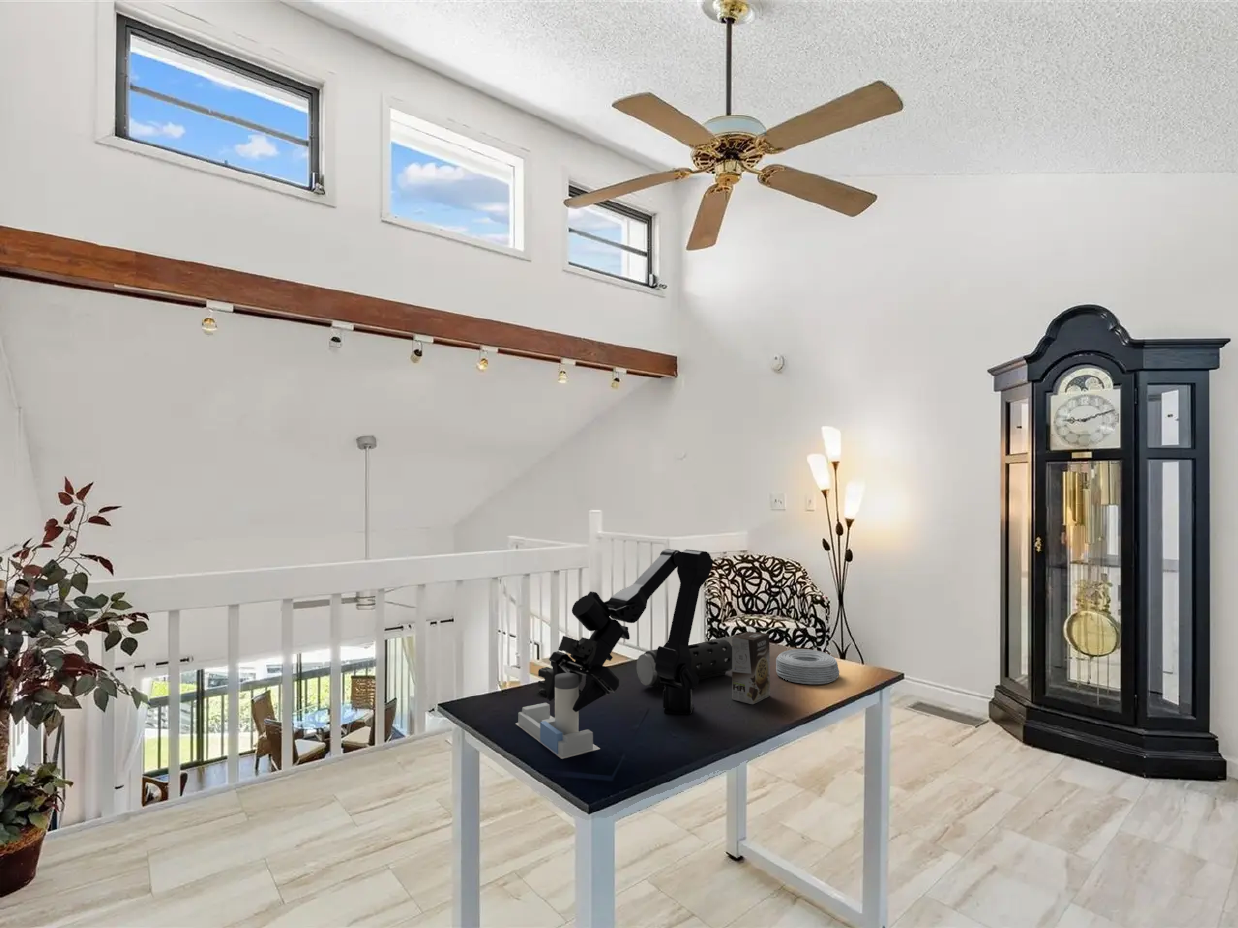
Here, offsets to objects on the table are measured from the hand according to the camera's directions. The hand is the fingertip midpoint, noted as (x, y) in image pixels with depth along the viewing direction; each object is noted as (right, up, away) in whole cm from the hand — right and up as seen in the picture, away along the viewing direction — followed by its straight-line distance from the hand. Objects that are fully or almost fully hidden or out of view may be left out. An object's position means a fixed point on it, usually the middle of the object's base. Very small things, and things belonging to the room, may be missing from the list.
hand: (560, 705), depth 141 cm
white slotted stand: (-2, -9, +5) cm, 11 cm away
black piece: (-4, -10, +38) cm, 39 cm away
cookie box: (+46, -10, +32) cm, 57 cm away
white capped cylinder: (+1, -8, +1) cm, 8 cm away
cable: (+66, -10, +50) cm, 83 cm away
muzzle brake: (+31, -10, +45) cm, 56 cm away
